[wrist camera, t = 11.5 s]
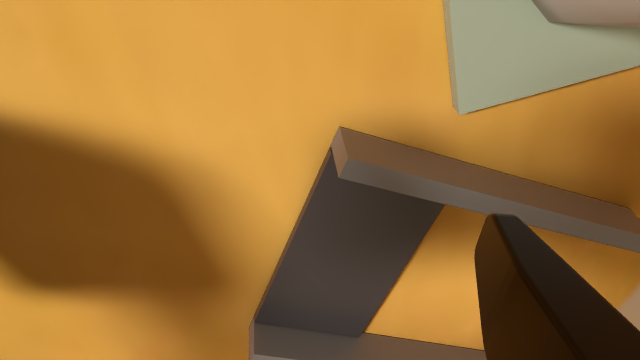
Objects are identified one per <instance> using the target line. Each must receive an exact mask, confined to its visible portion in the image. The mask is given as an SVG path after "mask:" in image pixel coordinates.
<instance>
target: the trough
mask: <svg viewBox="0 0 640 360" xmlns="http://www.w3.org/2000/svg"><path fill="white" fill-rule="evenodd" d="M445 204H446V205H450V206H454V207H458V208H462V209H466V210H470V211H474V212H478V213H482V214H486V215H489V214H491V213H503V214H513V215H515V216H517V217H518V218H519V219H520V220H522V221H523V222H524V223H525V224H526V225H530V226H534V227H538V228H542V229H546V230H550V231H554V232H558V233H562V234H566V235H570V236H574V237H578V238H582V239H586V240H590V241H594V242H598V243H602V244H606V245H610V246H614V247H618V248H622V249H626V250H631V251H635V252H639V253H640V219H639V218H638V217H637V216H636V215H635V214H634V213H633V212H632V210H631V209H629V208H626V207H622V206H619V205H615V204H612V203H608V202H605V201H601V200H598V199H594V198H591V197H587V196H583V195H580V194H576V193H573V192H569V191H566V190H562V189H559V188H555V187H552V186H548V185H545V184H541V183H537V182H534V181H530V180H527V179H523V178H520V177H516V176H513V175H509V174H506V173H502V172H499V171H495V170H491V169H488V168H484V167H481V166H477V165H474V164H470V163H467V162H463V161H460V160H456V159H453V158H449V157H445V156H442V155H438V154H435V153H431V152H428V151H424V150H421V149H417V148H414V147H410V146H407V145H403V144H399V143H396V142H392V141H389V140H385V139H382V138H378V137H375V136H371V135H368V134H364V133H361V132H357V131H353V130H350V129H346V128H343V127H339V128H338V130H337V133H336V135H335V137H334V139H333V141H332V144H331V147H330V148H329V150H328V153H327V155H326V157H325V159H324V161H323V164H322V166H321V168H320V170H319V173H318V175H317V177H316V179H315V181H314V184H313V186H312V188H311V190H310V193H309V195H308V197H307V199H306V201H305V204H304V206H303V208H302V210H301V213H300V215H299V217H298V219H297V222H296V224H295V226H294V228H293V230H292V233H291V235H290V237H289V239H288V242H287V244H286V246H285V248H284V250H283V253H282V255H281V257H280V259H279V262H278V264H277V266H276V268H275V270H274V273H273V275H272V277H271V279H270V282H269V284H268V286H267V288H266V291H265V293H264V295H263V297H262V299H261V302H260V304H259V306H258V308H257V311H256V313H255V315H254V317H253V319H252V322H251V324H250V326H249V360H487V359H486V354H485V351H481V350H475V349H468V348H461V347H455V346H448V345H442V344H435V343H428V342H422V341H415V340H408V339H402V338H395V337H388V336H382V335H375V334H369V333H362V332H363V331H364V329H365V328H366V326H367V325H368V323H369V321H370V320H371V318H372V317H373V315H374V314H375V312H376V311H377V309H378V308H379V306H380V304H381V303H382V301H383V300H384V298H385V297H386V295H387V294H388V292H389V291H390V289H391V287H392V286H393V284H394V283H395V281H396V280H397V278H398V277H399V275H400V273H401V272H402V270H403V269H404V267H405V266H406V264H407V263H408V261H409V260H410V258H411V256H412V255H413V253H414V252H415V250H416V249H417V247H418V246H419V244H420V243H421V241H422V239H423V238H424V236H425V235H426V233H427V232H428V230H429V229H430V227H431V225H432V224H433V222H434V221H435V219H436V218H437V216H438V215H439V213H440V212H441V210H442V208H443V207H444V205H445Z"/></svg>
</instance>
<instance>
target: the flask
mask: <svg viewBox="0 0 640 360" xmlns="http://www.w3.org/2000/svg"><path fill="white" fill-rule="evenodd" d="M532 2H533V3H534V4H535V5H536V7H537V8H538V9H539V10H540V12H541V13H542V14H543V15H544V17H545V18H546V19H547V20H548V22H557V23H571V24H586V25H600V26H615V27H640V0H532Z"/></svg>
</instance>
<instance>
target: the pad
mask: <svg viewBox="0 0 640 360" xmlns="http://www.w3.org/2000/svg"><path fill="white" fill-rule="evenodd" d="M443 7H444V17H445V28H446V38H447V48H448V59H449V69H450V80H451V90H452V101H453V107H454V108H455V110H456V111H457V113H458V114H459V115H461V114H465V113H469V112H472V111H476V110H480V109H483V108H487V107H491V106H494V105H498V104H501V103H505V102H509V101H512V100H516V99H520V98H523V97H527V96H531V95H534V94H538V93H542V92H545V91H549V90H553V89H556V88H560V87H564V86H567V85H571V84H575V83H578V82H582V81H586V80H589V79H593V78H597V77H600V76H604V75H608V74H611V73H615V72H619V71H622V70H626V69H630V68H633V67H637V66H640V27H615V26H600V25H586V24H571V23H557V22H548V20H547V19H546V18H545V17H544V15H543V14H542V13H541V12H540V10H539V9H538V8H537V7H536V5H535V4H534V3H533V2H532V0H443Z"/></svg>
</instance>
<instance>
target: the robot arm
mask: <svg viewBox="0 0 640 360" xmlns="http://www.w3.org/2000/svg"><path fill="white" fill-rule="evenodd" d="M475 269H476V279H477V289H478V299H479V308H480V318H481V328H482V336H483V344H484V349H485V354H486V359H487V360H640V331H639V330H638V329H637V328H636V327H635V326H633V324H632V323H630V322H629V321H628V320H627V319H626V318H625V317H624V316H623V315H622V314H621V313H620V312H619V311H618V310H617V309H616V308H614V307H613V306H612V305H611V304H610V303H609V302H608V301H607V300H606V299H605V298H604V297H603V296H602V295H601V294H599V293H598V292H597V291H596V290H595V289H594V288H593V287H592V286H591V285H590V284H589V283H588V282H587V281H586V280H585V279H583V278H582V277H581V276H580V275H579V274H578V273H577V272H576V271H575V270H574V269H573V268H572V267H571V266H570V265H569V264H567V263H566V262H565V261H564V260H563V259H562V258H561V257H560V256H559V255H558V254H557V253H556V252H555V251H554V250H553V249H551V248H550V247H549V246H548V245H547V244H546V243H545V242H544V241H543V240H542V239H541V238H540V237H539V236H538V235H536V234H535V233H534V232H533V231H532V230H531V229H530V228H529V227H528V226H527V225H526V224H525V223H524V222H523V221H522V220H520V219H519V218H518V217H517V216H515V215H513V214H503V213H491V214H489V215H488V216H487V218H486V220H485V223H484V226H483V228H482V231H481V234H480V237H479V239H478V242H477V245H476V249H475Z"/></svg>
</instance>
